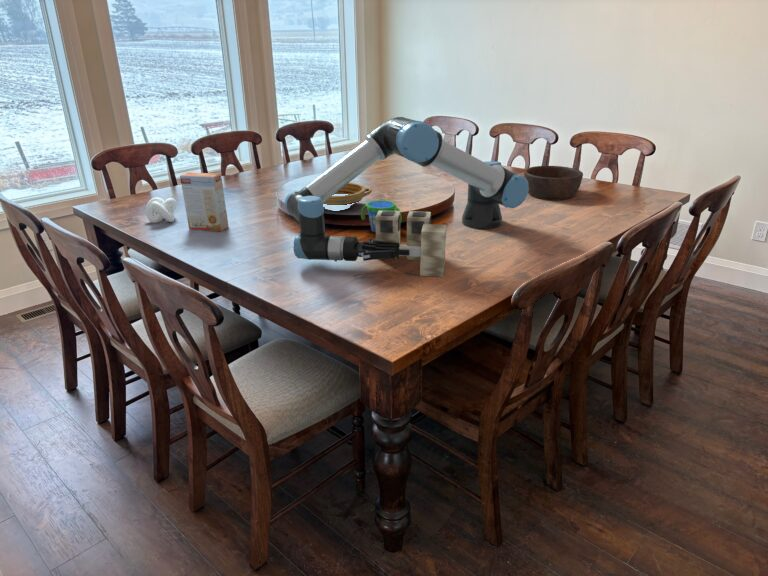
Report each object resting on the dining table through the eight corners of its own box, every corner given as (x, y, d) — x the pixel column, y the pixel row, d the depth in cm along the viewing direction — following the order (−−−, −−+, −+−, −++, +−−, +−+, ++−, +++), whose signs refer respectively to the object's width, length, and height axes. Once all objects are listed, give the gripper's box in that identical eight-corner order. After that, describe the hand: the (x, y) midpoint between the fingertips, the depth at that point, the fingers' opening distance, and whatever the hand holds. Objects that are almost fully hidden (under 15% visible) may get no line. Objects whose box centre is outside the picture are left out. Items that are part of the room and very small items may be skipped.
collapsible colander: (366, 197, 247) (366, 179, 244) (377, 213, 226) (377, 193, 222) (300, 202, 242) (298, 184, 238) (304, 218, 220) (303, 199, 217)
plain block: (444, 267, 172) (446, 224, 166) (443, 276, 166) (445, 232, 160) (422, 266, 173) (423, 223, 167) (420, 275, 166) (421, 231, 161)
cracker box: (229, 227, 212) (221, 173, 203) (221, 232, 207) (213, 176, 198) (197, 224, 215) (188, 171, 207) (188, 229, 210) (179, 175, 201)
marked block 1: (430, 252, 184) (431, 211, 178) (429, 260, 178) (430, 217, 172) (409, 251, 185) (409, 210, 179) (406, 259, 179) (406, 217, 173)
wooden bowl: (587, 201, 235) (591, 178, 231) (528, 202, 236) (530, 178, 232) (570, 187, 258) (573, 165, 254) (517, 187, 259) (518, 165, 254)
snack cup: (406, 229, 206) (406, 203, 202) (393, 238, 198) (392, 210, 193) (370, 223, 213) (369, 197, 209) (356, 231, 205) (355, 204, 200)
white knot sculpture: (167, 214, 228) (163, 193, 225) (187, 218, 223) (183, 197, 219) (143, 222, 220) (139, 200, 216) (164, 226, 214) (159, 204, 210)
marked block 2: (401, 251, 186) (400, 210, 180) (398, 259, 179) (398, 216, 173) (379, 250, 187) (378, 209, 181) (376, 258, 180) (375, 216, 174)
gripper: (349, 252, 178) (422, 255, 174) (340, 267, 166) (418, 271, 163) (348, 230, 174) (422, 232, 171) (339, 244, 163) (418, 247, 160)
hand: (420, 251), depth 167 cm, fingers closed
